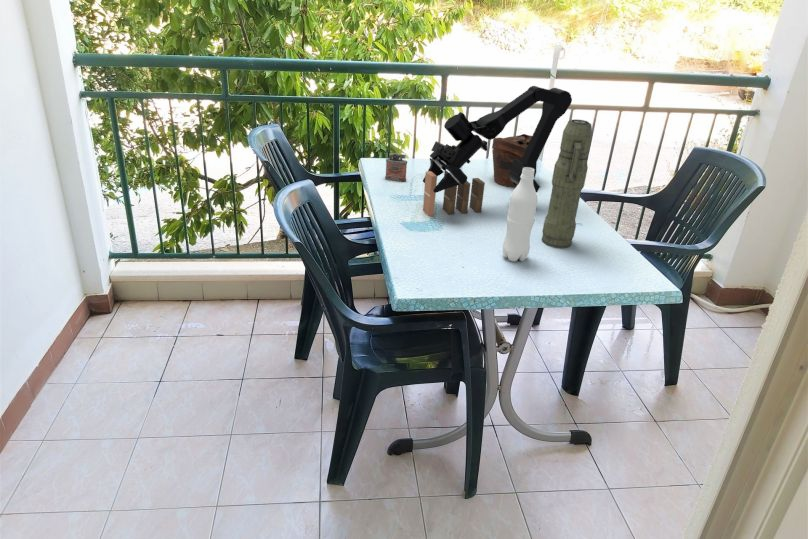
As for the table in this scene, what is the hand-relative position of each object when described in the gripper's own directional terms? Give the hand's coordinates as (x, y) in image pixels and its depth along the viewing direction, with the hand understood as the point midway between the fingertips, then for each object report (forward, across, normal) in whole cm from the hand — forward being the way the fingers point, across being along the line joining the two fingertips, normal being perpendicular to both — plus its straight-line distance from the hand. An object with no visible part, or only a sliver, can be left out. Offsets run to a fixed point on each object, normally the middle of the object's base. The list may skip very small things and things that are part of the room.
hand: (428, 186), depth 176 cm
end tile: (+6, 0, +6) cm, 9 cm away
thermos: (-15, +29, +28) cm, 43 cm away
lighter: (+6, -34, +7) cm, 35 cm away
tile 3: (+1, 0, +12) cm, 12 cm away
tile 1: (-6, 0, +18) cm, 19 cm away
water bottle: (-2, +36, +15) cm, 39 cm away
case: (-24, -25, +37) cm, 51 cm away
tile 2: (-2, 0, +15) cm, 15 cm away
